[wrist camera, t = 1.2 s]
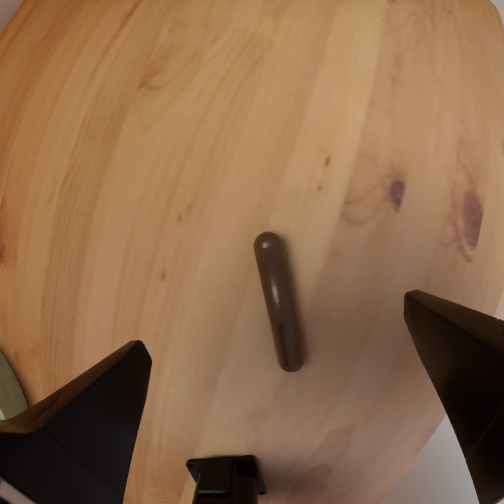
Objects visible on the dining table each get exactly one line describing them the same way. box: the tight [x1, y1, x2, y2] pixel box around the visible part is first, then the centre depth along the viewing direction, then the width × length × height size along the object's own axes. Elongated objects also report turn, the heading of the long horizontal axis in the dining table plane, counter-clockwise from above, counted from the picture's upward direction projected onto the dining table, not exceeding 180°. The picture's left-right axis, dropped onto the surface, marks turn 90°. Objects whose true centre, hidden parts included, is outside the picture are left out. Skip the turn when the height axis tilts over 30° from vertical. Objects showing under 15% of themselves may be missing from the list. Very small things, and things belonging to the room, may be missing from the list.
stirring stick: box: [254, 232, 305, 372], centre depth 18 cm, size 10×2×2 cm, turn 12°
